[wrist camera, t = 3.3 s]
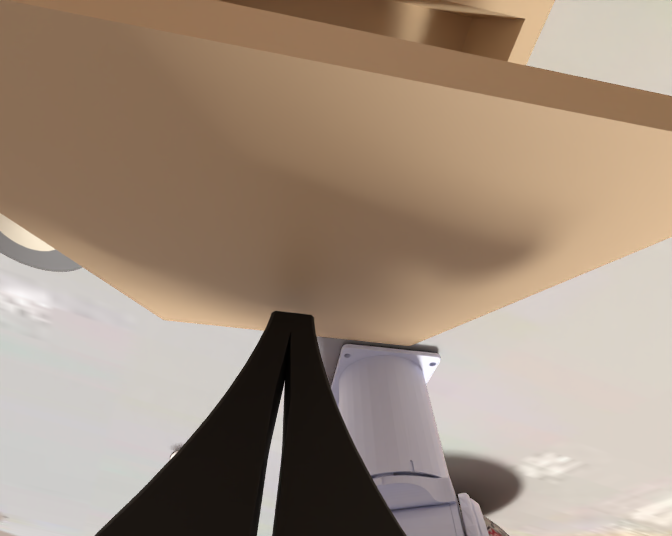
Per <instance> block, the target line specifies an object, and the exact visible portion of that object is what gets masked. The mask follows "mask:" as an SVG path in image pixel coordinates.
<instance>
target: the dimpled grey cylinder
mask: <svg viewBox="0 0 672 536" xmlns="http://www.w3.org/2000/svg"><path fill="white" fill-rule="evenodd" d="M0 253H2V254H4V255H6V256H8V257H9V258H11V259H13V260H16V261H18V262H20V263H23V264H25V265H28V266H31V267H34V268H38V269H42V270H47V271H55V272H67V271H74V270H77V269H80V268H82V266H80V265H79V264H77V263H76V262H74V261H73V260H71V259H70V258H68V257H67V256H65V255H64V254H62V253H60V252H59V251H57V250H56V249H54V248H53V247H51V246H50V245H48V244H47V243H45V242H44V241H42V240H41V239H39V238H38V237H36V236H34V235H33V234H31V233H30V232H28V231H27V230H25V229H24V228H22V227H21V226H19V225H18V224H16V223H15V222H13V221H12V220H10V219H8V218H7V217H5V216H4V215H2V214H1V213H0Z"/></svg>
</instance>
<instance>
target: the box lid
mask: <svg viewBox="0 0 672 536" xmlns="http://www.w3.org/2000/svg"><path fill="white" fill-rule="evenodd" d="M0 213H1V214H2V215H4V216H5V217H7V218H8V219H10V220H12V221H13V222H15V223H16V224H18V225H19V226H21V227H22V228H24V229H25V230H27V231H28V232H30V233H31V234H33V235H34V236H36V237H38V238H39V239H41V240H42V241H44V242H45V243H47V244H48V245H50V246H51V247H53V248H54V249H56V250H57V251H59V252H60V253H62V254H64V255H65V256H67V257H68V258H70V259H71V260H73V261H74V262H76V263H77V264H79V265H80V266H82V267H83V268H85V269H86V270H88V271H90V272H91V273H93V274H94V275H96V276H97V277H99V278H100V279H102V280H103V281H105V282H106V283H108V284H109V285H111V286H112V287H114V288H116V289H117V290H119V291H120V292H122V293H123V294H125V295H126V296H128V297H129V298H131V299H132V300H134V301H135V302H137V303H138V304H140V305H142V306H143V307H145V308H146V309H148V310H149V311H151V312H152V313H154V314H155V315H157V316H158V317H160V318H161V319H163V320H168V321H178V322H187V323H197V324H206V325H216V326H225V327H235V328H244V329H254V330H263V331H264V330H265V328H266V326H267V324H268V322H269V319H270V316H271V313H272V312H274V311H282V312H291V313H300V314H309V315H312V316H313V317H314V323H315V331H316V336H320V337H329V338H339V339H348V340H358V341H367V342H377V343H386V344H395V345H405V346H411V345H413V344H416V343H418V342H421V341H423V340H425V339H428V338H430V337H433V336H435V335H437V334H440V333H442V332H445V331H447V330H449V329H452V328H454V327H457V326H459V325H461V324H464V323H466V322H469V321H471V320H473V319H476V318H478V317H481V316H483V315H485V314H488V313H490V312H493V311H495V310H497V309H500V308H502V307H505V306H507V305H509V304H512V303H514V302H517V301H519V300H521V299H524V298H526V297H529V296H531V295H533V294H536V293H538V292H541V291H543V290H545V289H548V288H550V287H553V286H555V285H557V284H560V283H562V282H565V281H567V280H569V279H572V278H574V277H577V276H579V275H581V274H584V273H586V272H589V271H591V270H593V269H596V268H598V267H601V266H603V265H605V264H608V263H610V262H613V261H615V260H617V259H620V258H622V257H625V256H627V255H629V254H632V253H634V252H637V251H639V250H641V249H644V248H646V247H649V246H651V245H653V244H656V243H658V242H661V241H663V240H665V239H668V238H670V237H672V96H668V95H663V94H659V93H654V92H649V91H644V90H640V89H635V88H630V87H625V86H621V85H616V84H611V83H606V82H602V81H597V80H592V79H587V78H583V77H578V76H573V75H568V74H564V73H559V72H554V71H549V70H545V69H540V68H535V67H531V66H526V65H521V64H516V63H512V62H507V61H502V60H497V59H493V58H488V57H483V56H478V55H474V54H469V53H464V52H459V51H455V50H450V49H445V48H440V47H436V46H431V45H426V44H421V43H417V42H412V41H407V40H402V39H398V38H393V37H388V36H384V35H379V34H374V33H369V32H365V31H360V30H355V29H350V28H346V27H341V26H336V25H331V24H327V23H322V22H317V21H312V20H308V19H303V18H298V17H293V16H289V15H284V14H279V13H274V12H270V11H265V10H260V9H255V8H251V7H246V6H241V5H236V4H232V3H227V2H222V1H218V0H0Z"/></svg>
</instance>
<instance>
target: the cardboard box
mask: <svg viewBox="0 0 672 536" xmlns="http://www.w3.org/2000/svg"><path fill="white" fill-rule="evenodd" d="M218 1H222V2H227V3H232V4H236V5H241V6H246V7H251V8H255V9H260V10H265V11H270V12H274V13H279V14H284V15H289V16H293V17H298V18H303V19H308V20H312V21H317V22H322V23H327V24H331V25H336V26H341V27H346V28H350V29H355V30H360V31H365V32H369V33H374V34H379V35H384V36H388V37H393V38H398V39H402V40H407V41H412V42H417V43H421V44H426V45H431V46H436V47H440V48H445V49H450V50H455V51H459V52H464V53H469V54H474V55H478V56H483V57H488V58H493V59H497V60H502V61H507V62H512V63H516V64H521V65H526V64H527V62H528V59H529V57H530V55H531V53H532V50H533V48H534V46H535V44H536V41H537V39H538V37H539V35H540V33H541V30H542V28H543V26H544V24H545V21H546V19H547V17H548V15H549V13H550V10H551V8H552V6H553V4H554V1H555V0H218Z"/></svg>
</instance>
